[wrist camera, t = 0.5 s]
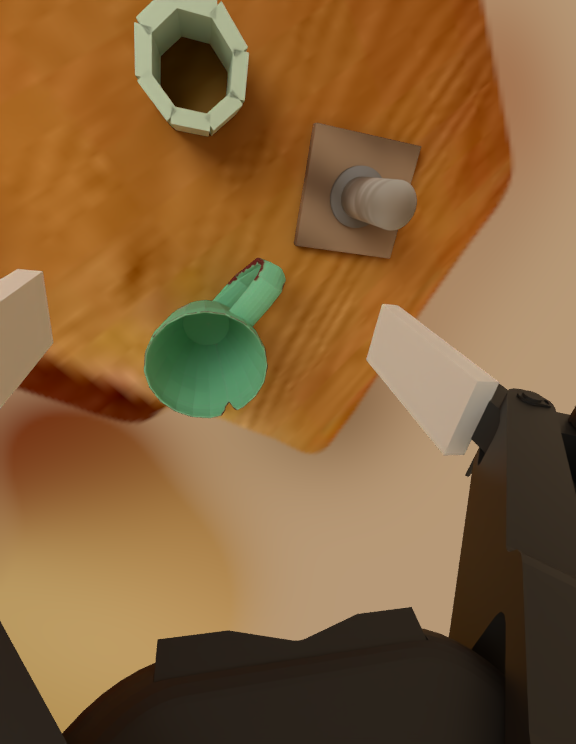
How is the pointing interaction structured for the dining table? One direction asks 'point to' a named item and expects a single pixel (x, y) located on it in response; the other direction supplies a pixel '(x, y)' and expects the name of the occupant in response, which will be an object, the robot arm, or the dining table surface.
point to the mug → (214, 346)
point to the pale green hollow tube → (201, 23)
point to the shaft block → (355, 192)
